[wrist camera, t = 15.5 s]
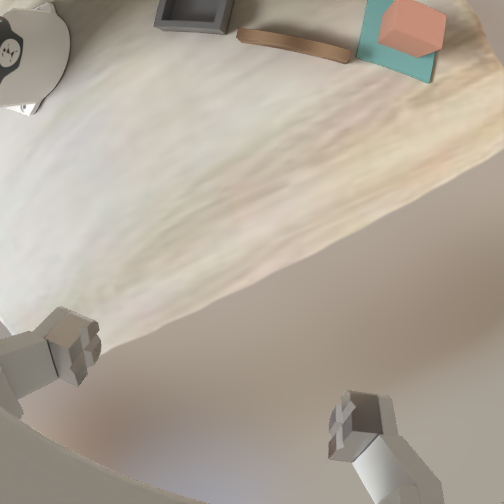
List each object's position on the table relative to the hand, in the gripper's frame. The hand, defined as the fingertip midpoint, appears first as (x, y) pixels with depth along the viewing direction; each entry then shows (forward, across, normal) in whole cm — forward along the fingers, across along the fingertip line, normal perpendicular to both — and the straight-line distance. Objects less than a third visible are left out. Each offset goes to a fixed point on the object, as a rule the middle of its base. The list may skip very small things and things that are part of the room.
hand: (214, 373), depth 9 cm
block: (+31, -10, -20) cm, 38 cm away
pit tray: (+31, +14, -20) cm, 39 cm away
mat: (+31, -10, -20) cm, 38 cm away
